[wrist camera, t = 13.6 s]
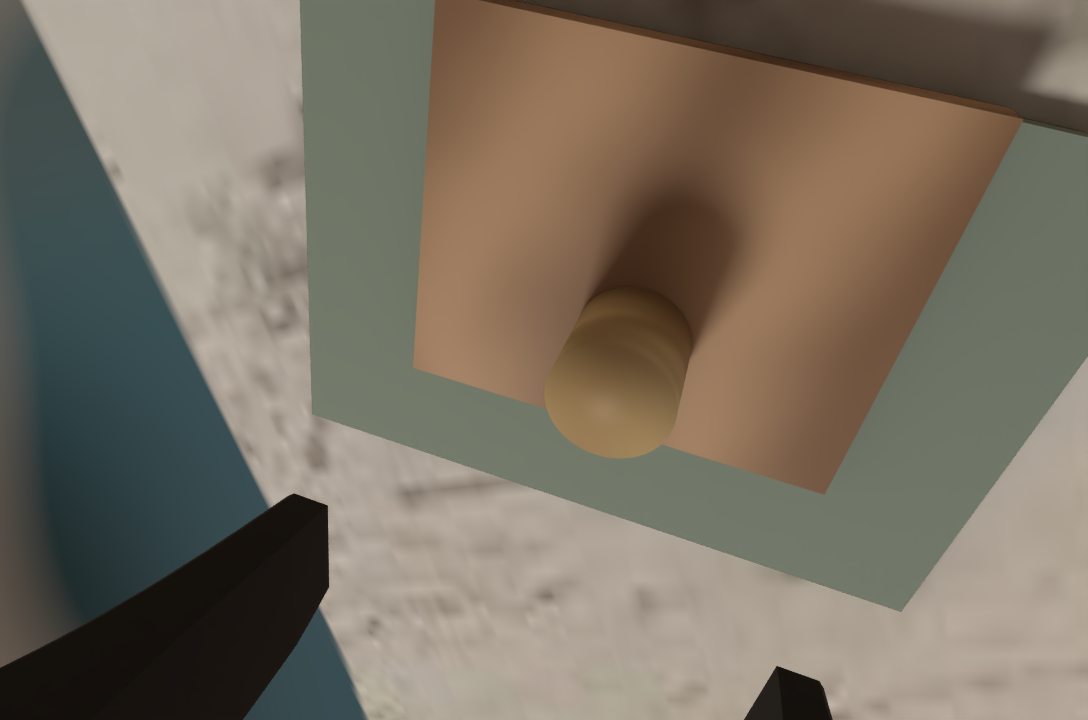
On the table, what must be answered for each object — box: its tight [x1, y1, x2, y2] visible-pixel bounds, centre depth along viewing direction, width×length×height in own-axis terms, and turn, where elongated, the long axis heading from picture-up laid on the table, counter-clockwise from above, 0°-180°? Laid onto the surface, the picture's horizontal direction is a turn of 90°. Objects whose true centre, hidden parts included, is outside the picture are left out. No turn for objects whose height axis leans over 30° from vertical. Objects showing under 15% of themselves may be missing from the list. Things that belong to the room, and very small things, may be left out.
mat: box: [300, 0, 1088, 612], centre depth 19 cm, size 20×14×1 cm
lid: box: [413, 0, 1024, 495], centre depth 16 cm, size 12×10×4 cm
